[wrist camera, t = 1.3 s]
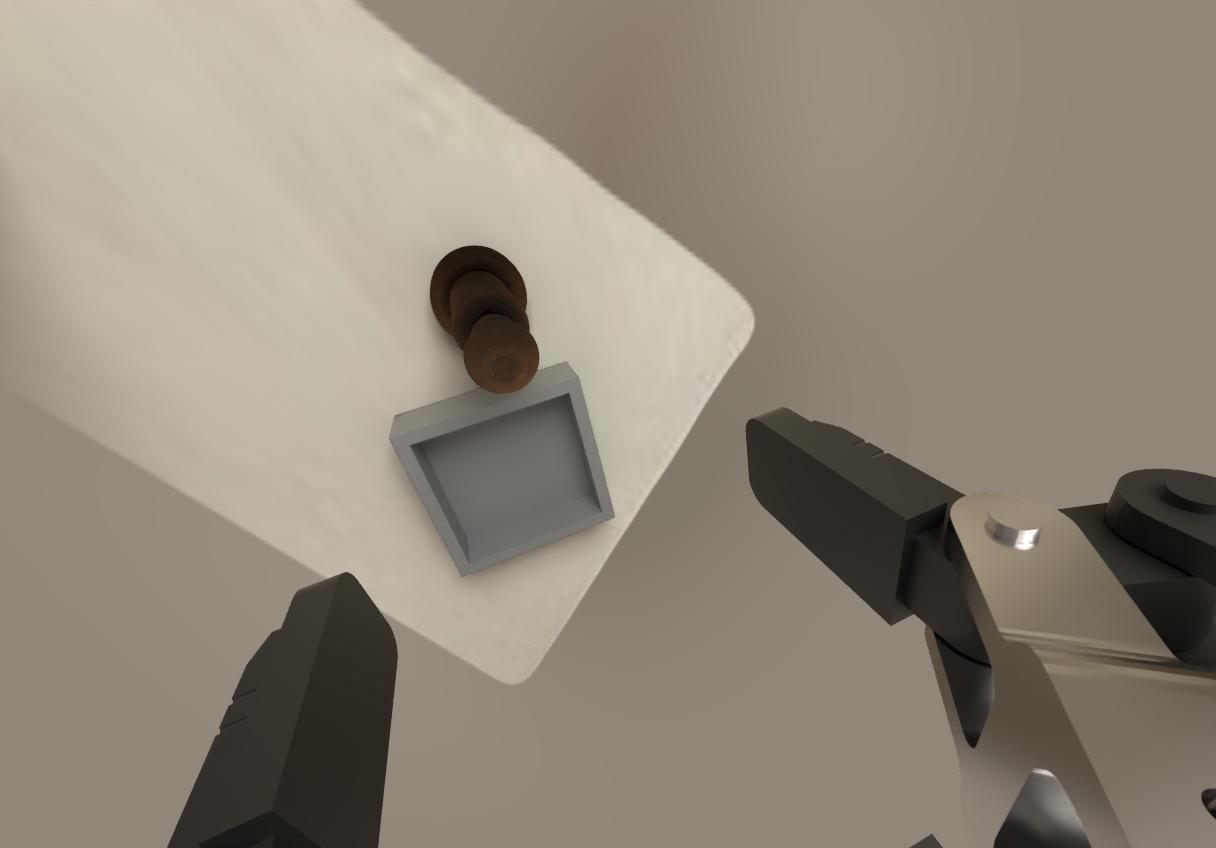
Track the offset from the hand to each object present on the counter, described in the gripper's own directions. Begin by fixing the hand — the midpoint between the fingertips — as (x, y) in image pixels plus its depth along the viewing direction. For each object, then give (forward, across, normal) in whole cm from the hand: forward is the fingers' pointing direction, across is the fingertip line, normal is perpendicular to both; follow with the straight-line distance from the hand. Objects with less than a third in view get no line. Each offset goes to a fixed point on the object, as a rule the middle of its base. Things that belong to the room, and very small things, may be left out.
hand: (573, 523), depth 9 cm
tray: (+28, +2, +14) cm, 31 cm away
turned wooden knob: (+28, 0, 0) cm, 28 cm away
